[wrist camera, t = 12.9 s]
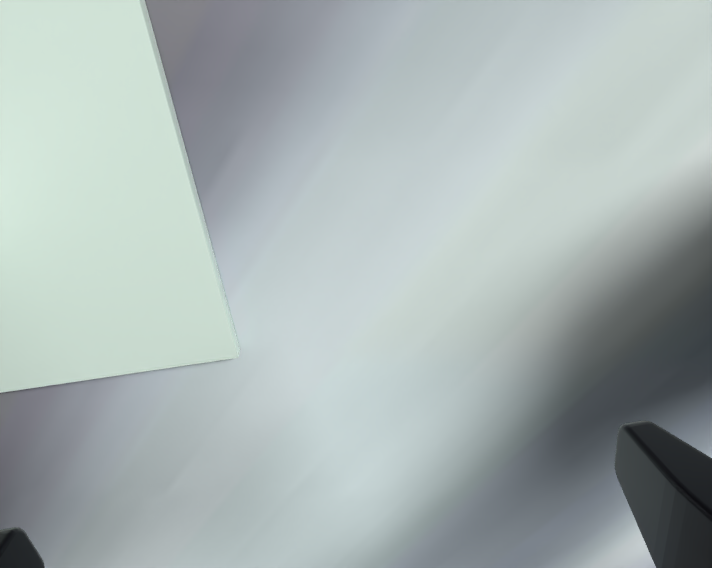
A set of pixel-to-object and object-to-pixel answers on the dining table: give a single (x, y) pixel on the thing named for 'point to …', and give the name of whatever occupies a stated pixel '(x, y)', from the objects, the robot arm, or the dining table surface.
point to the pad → (97, 203)
